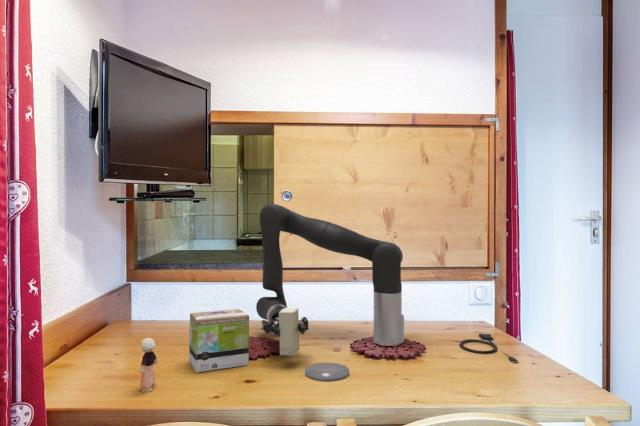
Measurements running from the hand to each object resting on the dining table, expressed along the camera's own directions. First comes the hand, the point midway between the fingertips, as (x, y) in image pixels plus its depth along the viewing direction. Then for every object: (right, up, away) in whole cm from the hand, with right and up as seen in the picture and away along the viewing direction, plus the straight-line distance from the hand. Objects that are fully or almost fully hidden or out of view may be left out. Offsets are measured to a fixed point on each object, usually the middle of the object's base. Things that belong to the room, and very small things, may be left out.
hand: (290, 331), depth 129 cm
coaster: (+10, -10, -4) cm, 15 cm away
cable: (+60, -11, +18) cm, 64 cm away
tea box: (-21, -10, +3) cm, 24 cm away
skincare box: (-1, -7, +2) cm, 7 cm away
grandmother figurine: (-35, -11, -15) cm, 39 cm away
